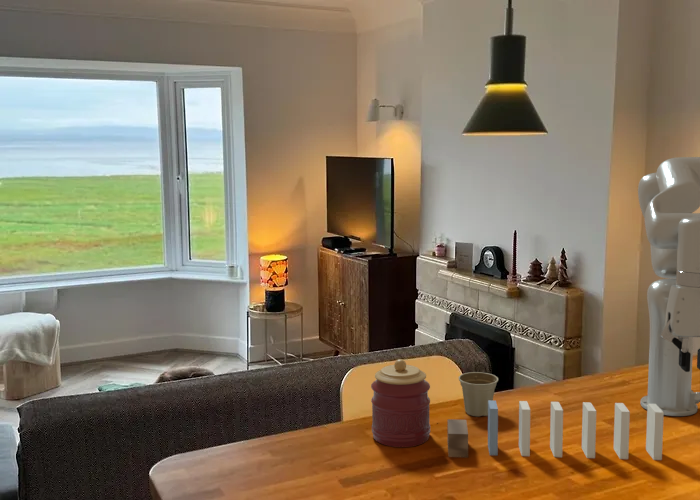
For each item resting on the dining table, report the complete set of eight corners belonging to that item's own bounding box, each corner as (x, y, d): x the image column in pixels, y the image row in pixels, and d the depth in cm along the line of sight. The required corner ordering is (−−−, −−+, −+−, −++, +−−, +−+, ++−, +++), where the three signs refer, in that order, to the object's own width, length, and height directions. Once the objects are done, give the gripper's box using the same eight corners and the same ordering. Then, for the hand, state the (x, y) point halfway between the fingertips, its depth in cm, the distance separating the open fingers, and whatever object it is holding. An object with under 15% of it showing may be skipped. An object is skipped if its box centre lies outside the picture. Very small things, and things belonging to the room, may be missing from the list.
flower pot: (498, 420, 162) (498, 385, 161) (457, 418, 164) (457, 383, 162) (497, 406, 171) (498, 372, 170) (459, 404, 173) (459, 371, 172)
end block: (466, 441, 150) (466, 419, 149) (468, 457, 142) (468, 434, 141) (447, 441, 150) (447, 419, 150) (448, 456, 142) (448, 433, 142)
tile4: (557, 447, 146) (558, 401, 145) (562, 457, 141) (563, 410, 140) (550, 447, 146) (550, 401, 145) (554, 457, 141) (555, 410, 140)
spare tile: (489, 455, 143) (490, 408, 142) (487, 445, 148) (488, 400, 147) (497, 455, 143) (497, 408, 142) (495, 445, 148) (495, 400, 146)
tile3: (589, 448, 145) (590, 402, 144) (595, 458, 141) (596, 411, 139) (581, 447, 146) (582, 402, 144) (586, 458, 141) (588, 410, 139)
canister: (437, 430, 157) (437, 354, 154) (419, 452, 145) (418, 371, 143) (384, 422, 162) (383, 349, 160) (362, 443, 150) (361, 364, 148)
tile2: (621, 448, 145) (622, 403, 143) (628, 459, 140) (629, 411, 139) (613, 448, 145) (614, 402, 144) (620, 458, 140) (621, 411, 139)
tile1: (653, 449, 144) (655, 403, 143) (661, 460, 139) (663, 412, 138) (645, 449, 144) (647, 403, 143) (653, 459, 139) (655, 412, 138)
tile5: (526, 446, 147) (526, 401, 146) (529, 456, 142) (530, 409, 141) (518, 446, 147) (519, 401, 146) (521, 456, 142) (522, 409, 141)
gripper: (732, 276, 139) (727, 365, 141) (648, 276, 141) (645, 364, 143) (749, 283, 131) (744, 376, 134) (660, 283, 133) (657, 375, 136)
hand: (693, 369), depth 138 cm, fingers open, 2 cm apart
